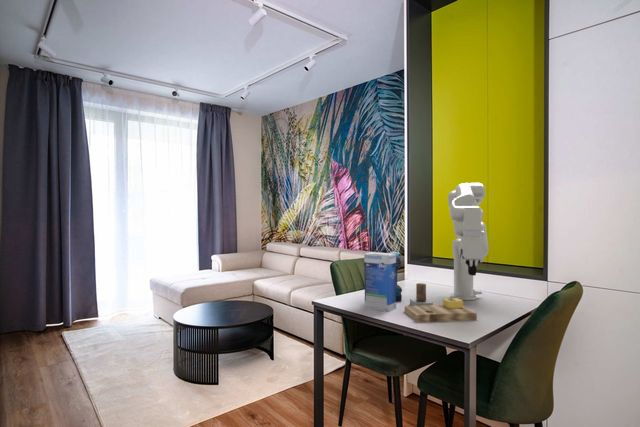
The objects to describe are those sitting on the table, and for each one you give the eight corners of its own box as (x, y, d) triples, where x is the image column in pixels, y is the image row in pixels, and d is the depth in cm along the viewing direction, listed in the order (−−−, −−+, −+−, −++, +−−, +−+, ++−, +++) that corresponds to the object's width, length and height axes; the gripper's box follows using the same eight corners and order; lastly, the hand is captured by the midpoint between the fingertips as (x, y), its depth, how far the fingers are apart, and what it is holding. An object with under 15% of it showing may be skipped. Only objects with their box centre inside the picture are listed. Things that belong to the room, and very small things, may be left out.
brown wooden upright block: (423, 305, 172) (423, 283, 172) (427, 307, 168) (427, 284, 168) (414, 305, 172) (414, 283, 172) (418, 307, 168) (418, 285, 168)
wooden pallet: (459, 310, 164) (459, 304, 164) (477, 320, 150) (477, 313, 150) (404, 312, 161) (404, 305, 161) (417, 322, 147) (417, 315, 147)
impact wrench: (398, 295, 196) (399, 249, 196) (404, 305, 173) (404, 253, 173) (384, 294, 197) (384, 248, 196) (388, 305, 174) (388, 253, 174)
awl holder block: (425, 305, 174) (425, 298, 174) (432, 309, 166) (432, 302, 166) (409, 305, 173) (409, 299, 173) (416, 309, 166) (416, 303, 166)
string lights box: (396, 309, 166) (396, 253, 166) (389, 312, 160) (389, 255, 160) (371, 304, 175) (371, 251, 175) (363, 308, 169) (363, 253, 169)
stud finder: (457, 304, 163) (457, 297, 163) (463, 307, 158) (463, 300, 158) (442, 305, 162) (442, 298, 162) (448, 308, 157) (448, 301, 157)
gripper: (483, 233, 165) (483, 273, 165) (452, 233, 164) (452, 273, 164) (492, 234, 158) (492, 276, 158) (460, 234, 156) (460, 276, 156)
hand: (472, 274), depth 161 cm, fingers closed
